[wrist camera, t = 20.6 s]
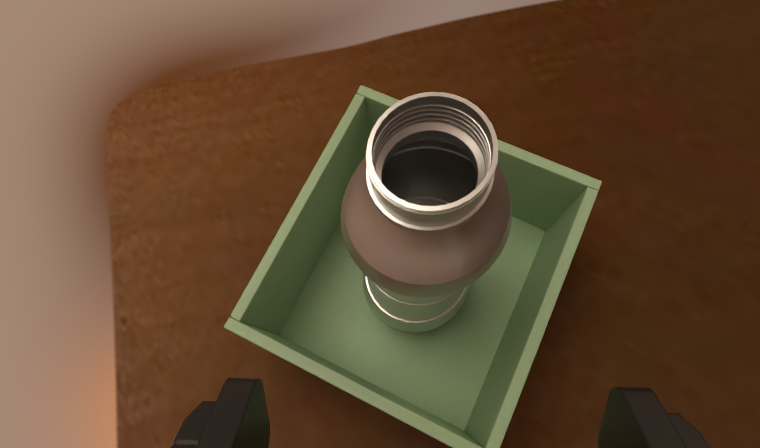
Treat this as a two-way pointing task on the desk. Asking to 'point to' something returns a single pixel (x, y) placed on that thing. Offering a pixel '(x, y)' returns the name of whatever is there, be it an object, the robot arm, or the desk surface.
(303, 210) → the storage bin
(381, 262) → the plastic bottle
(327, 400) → the desk surface
